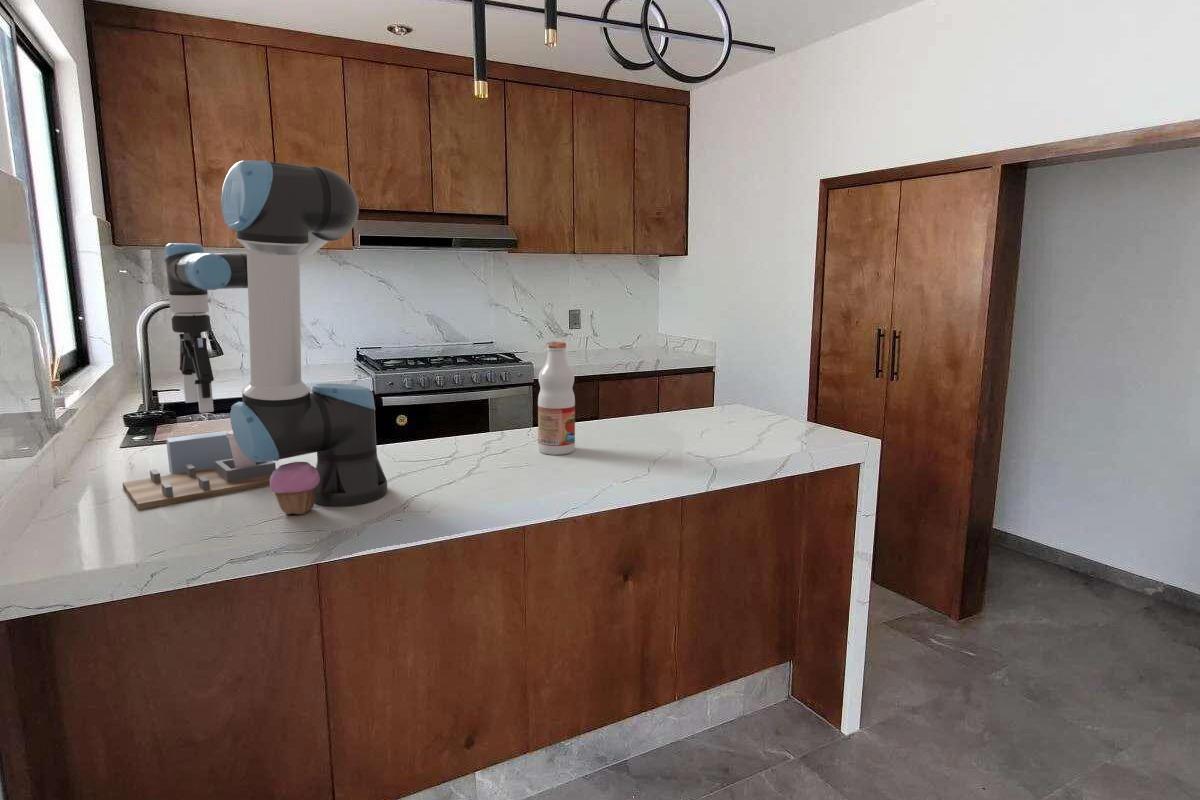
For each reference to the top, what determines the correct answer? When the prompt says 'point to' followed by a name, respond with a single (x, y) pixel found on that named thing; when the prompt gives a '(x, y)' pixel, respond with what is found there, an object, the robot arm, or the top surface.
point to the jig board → (186, 488)
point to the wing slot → (190, 472)
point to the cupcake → (295, 486)
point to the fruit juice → (556, 403)
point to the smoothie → (238, 452)
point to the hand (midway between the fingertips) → (199, 407)
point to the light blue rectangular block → (197, 451)
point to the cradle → (243, 470)
